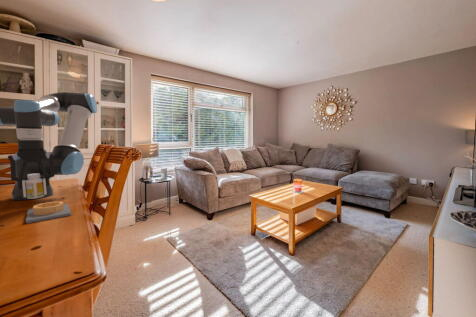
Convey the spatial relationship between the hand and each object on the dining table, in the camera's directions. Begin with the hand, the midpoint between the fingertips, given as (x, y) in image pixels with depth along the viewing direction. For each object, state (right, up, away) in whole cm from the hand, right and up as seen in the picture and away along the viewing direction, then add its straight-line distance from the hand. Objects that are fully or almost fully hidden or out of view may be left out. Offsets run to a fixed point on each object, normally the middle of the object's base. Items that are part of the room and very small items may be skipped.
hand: (35, 195), depth 88 cm
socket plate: (+12, -6, -7) cm, 15 cm away
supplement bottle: (0, -1, 0) cm, 1 cm away
